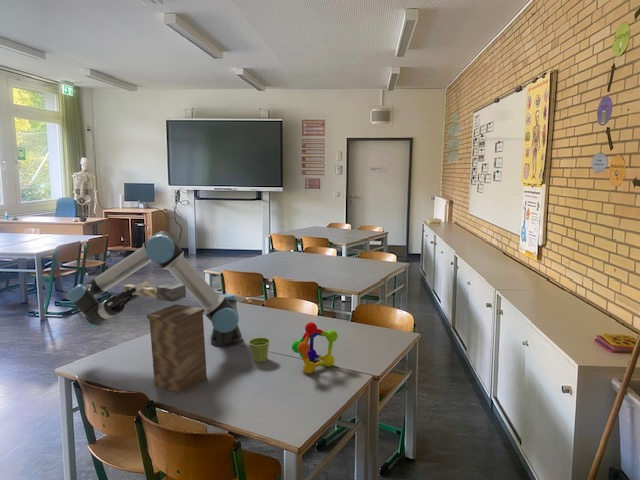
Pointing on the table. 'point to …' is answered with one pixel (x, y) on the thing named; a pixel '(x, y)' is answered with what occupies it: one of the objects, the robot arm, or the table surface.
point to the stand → (178, 347)
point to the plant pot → (259, 349)
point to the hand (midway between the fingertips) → (144, 284)
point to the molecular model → (308, 351)
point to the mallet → (162, 291)
